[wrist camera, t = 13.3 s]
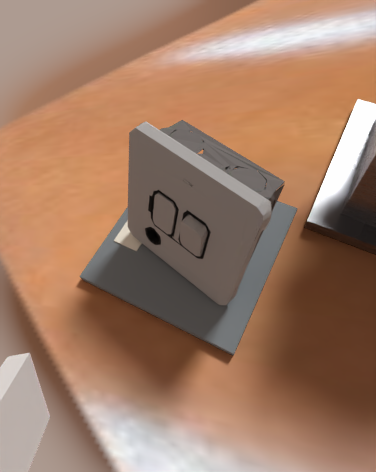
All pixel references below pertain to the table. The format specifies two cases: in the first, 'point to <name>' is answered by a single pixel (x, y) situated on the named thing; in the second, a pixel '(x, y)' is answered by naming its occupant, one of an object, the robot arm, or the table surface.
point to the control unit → (350, 185)
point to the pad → (185, 282)
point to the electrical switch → (198, 205)
